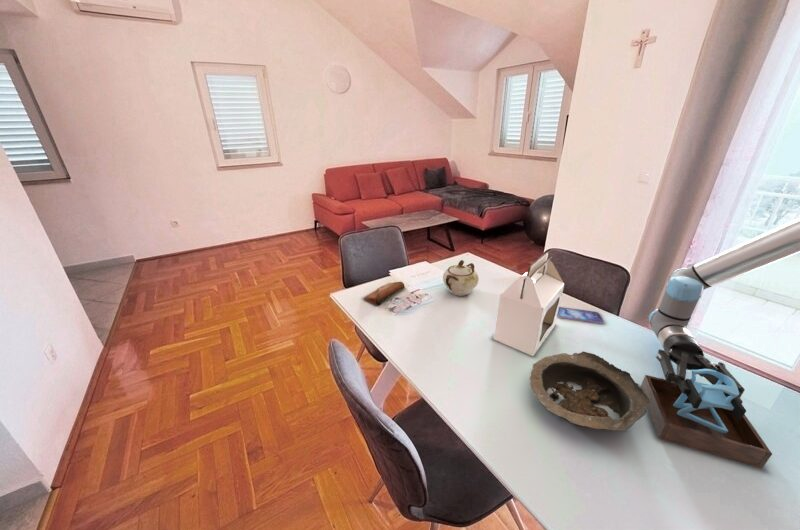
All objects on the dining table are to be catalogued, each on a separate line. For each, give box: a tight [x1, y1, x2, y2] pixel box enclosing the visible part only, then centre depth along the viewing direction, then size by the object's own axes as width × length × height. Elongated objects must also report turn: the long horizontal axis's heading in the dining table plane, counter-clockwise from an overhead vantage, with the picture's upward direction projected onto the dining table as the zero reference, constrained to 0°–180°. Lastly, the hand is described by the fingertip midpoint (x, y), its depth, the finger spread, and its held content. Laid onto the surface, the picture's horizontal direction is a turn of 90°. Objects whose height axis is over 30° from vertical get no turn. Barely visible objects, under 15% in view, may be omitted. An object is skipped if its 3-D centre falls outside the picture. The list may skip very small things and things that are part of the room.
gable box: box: [493, 251, 565, 357], centre depth 103 cm, size 22×13×28 cm, turn 139°
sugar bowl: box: [442, 259, 480, 297], centre depth 133 cm, size 20×15×15 cm
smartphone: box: [557, 306, 604, 324], centre depth 118 cm, size 7×1×15 cm
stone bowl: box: [529, 351, 650, 432], centre depth 78 cm, size 25×25×9 cm
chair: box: [673, 369, 739, 434], centre depth 71 cm, size 8×8×12 cm
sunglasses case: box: [363, 281, 405, 306], centre depth 133 cm, size 18×7×7 cm
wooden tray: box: [639, 374, 773, 469], centre depth 74 cm, size 18×17×5 cm
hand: (718, 409), depth 67 cm, fingers closed on chair, 6 cm apart
